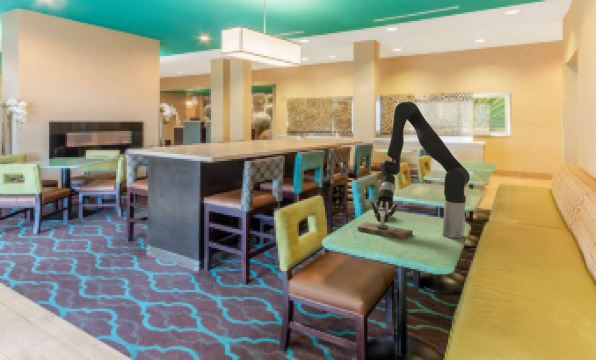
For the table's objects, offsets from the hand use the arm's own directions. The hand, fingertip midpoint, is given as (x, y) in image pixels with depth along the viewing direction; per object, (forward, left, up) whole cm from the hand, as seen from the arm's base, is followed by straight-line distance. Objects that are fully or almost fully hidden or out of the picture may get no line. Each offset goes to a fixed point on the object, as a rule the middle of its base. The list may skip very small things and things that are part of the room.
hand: (382, 221), depth 187 cm
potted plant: (+12, -31, -6) cm, 34 cm away
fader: (+1, -2, -4) cm, 4 cm away
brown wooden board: (-1, -2, -6) cm, 6 cm away
